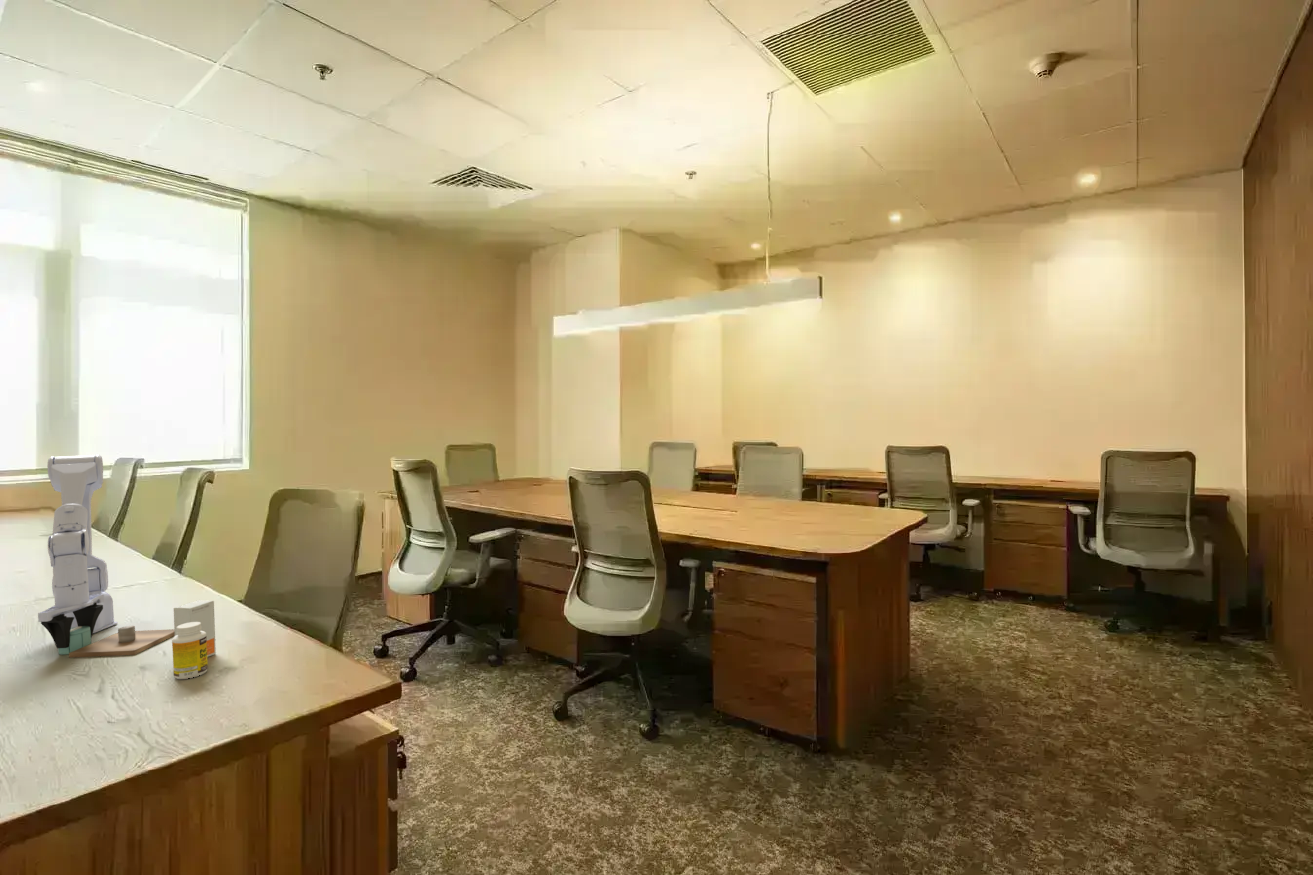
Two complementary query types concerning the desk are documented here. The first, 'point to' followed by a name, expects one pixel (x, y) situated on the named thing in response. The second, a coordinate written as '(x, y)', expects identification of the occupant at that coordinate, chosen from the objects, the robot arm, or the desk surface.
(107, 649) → the post fixture
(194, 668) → the supplement bottle
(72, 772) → the desk surface
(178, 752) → the desk surface
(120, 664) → the desk surface
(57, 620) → the robot arm
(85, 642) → the cap
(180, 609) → the skincare box
